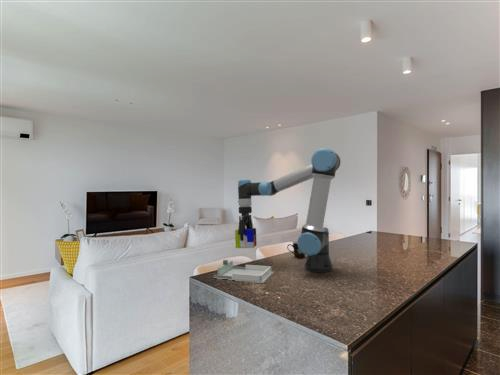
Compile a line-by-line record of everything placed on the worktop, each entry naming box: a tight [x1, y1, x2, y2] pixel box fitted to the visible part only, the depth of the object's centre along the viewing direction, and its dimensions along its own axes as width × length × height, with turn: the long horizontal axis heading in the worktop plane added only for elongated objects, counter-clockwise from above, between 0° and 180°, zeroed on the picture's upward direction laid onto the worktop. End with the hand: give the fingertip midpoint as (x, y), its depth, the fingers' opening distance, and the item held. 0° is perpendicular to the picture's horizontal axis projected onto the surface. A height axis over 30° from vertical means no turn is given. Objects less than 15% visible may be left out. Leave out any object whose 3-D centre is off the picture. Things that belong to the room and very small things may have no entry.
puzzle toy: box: [234, 227, 257, 249], centre depth 163 cm, size 10×10×10 cm
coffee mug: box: [286, 241, 306, 259], centre depth 185 cm, size 12×9×10 cm
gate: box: [217, 259, 234, 275], centre depth 148 cm, size 2×17×6 cm, turn 160°
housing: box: [213, 264, 275, 284], centre depth 144 cm, size 26×19×3 cm
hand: (246, 244), depth 162 cm, fingers closed on puzzle toy, 10 cm apart
